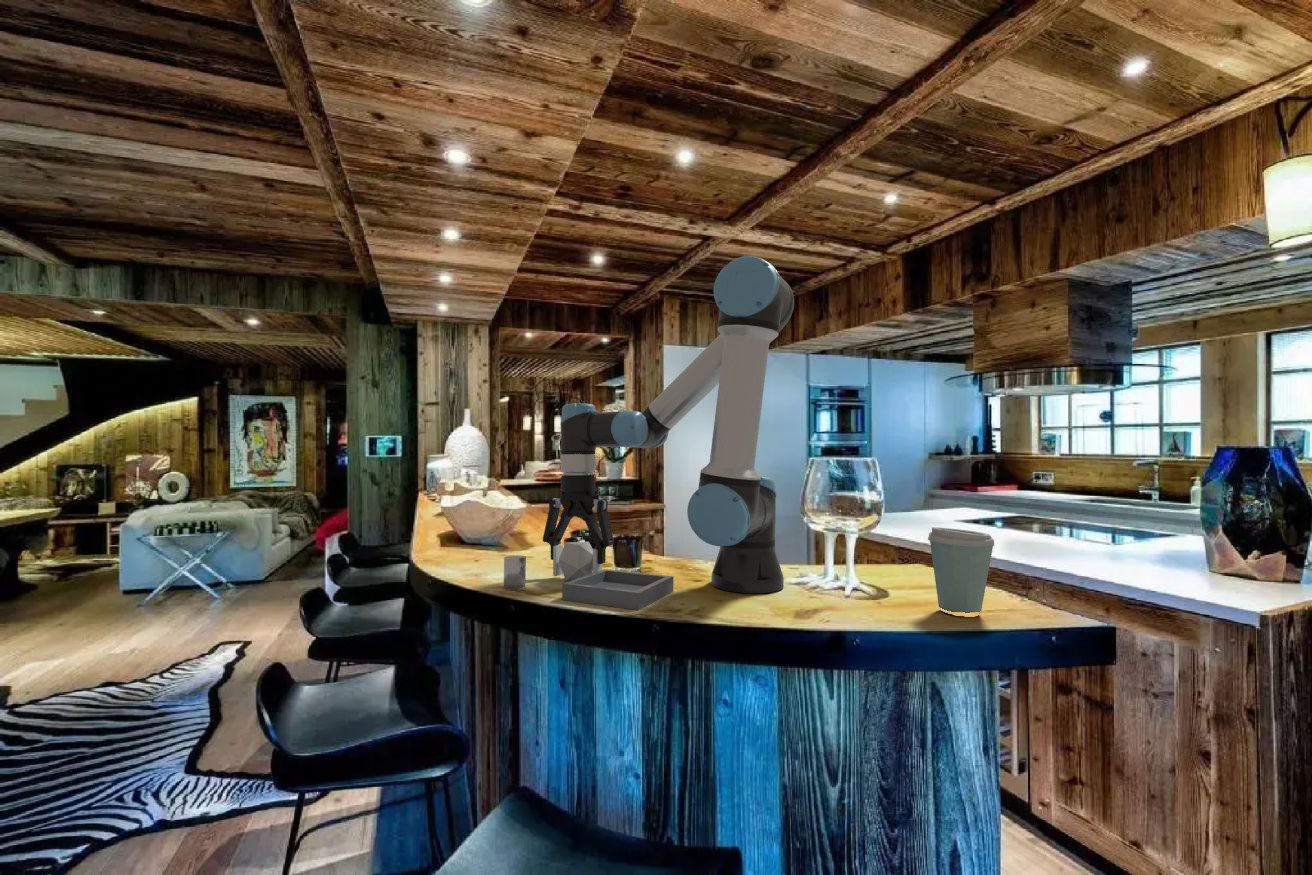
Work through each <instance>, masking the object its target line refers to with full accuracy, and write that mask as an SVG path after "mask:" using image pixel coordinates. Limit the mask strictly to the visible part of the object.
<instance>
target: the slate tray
mask: <svg viewBox="0 0 1312 875" xmlns="http://www.w3.org/2000/svg"><path fill="white" fill-rule="evenodd" d="M561 585H562V588H561V589H562V593H561V596H562V597H561V598H562V601H569V602H577V603H582V604H583V603H584V604H591V605H598V606H605V607H613V608H614V607H615V608H619V609H620V608H621V609H627V610H628V609H629V610H637V611H639V610H642V609H644V608H645V607H647V606H649V605H650V604H652V603H653V604H654V602H656V601H658V600H660V599H662V598H664V597H665V596H667V595H669V594H671V593H673V592H674V576H673V575H662V574H654V573H646V572H645V573H644V572H636V571H635V572H633V571H625V570H617V569H615V570H614V569H606V568H602V570H601V571H598V572H595V573H593V572H592V574H589V575H586V576H583V577H580V578H578V579H575V580H568V581H567V582H564V583H562V584H561Z"/></svg>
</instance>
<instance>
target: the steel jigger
mask: <svg viewBox="0 0 1312 875" xmlns="http://www.w3.org/2000/svg"><path fill="white" fill-rule="evenodd" d="M526 573H527V556H525V555H507V556H504V557H503V588H504V589H507V590H517V589H519V590H520V589H524V588H526V583H527V582H526V576H527V574H526Z"/></svg>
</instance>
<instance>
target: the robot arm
mask: <svg viewBox="0 0 1312 875" xmlns="http://www.w3.org/2000/svg"><path fill="white" fill-rule="evenodd" d="M713 296H714V301H715V304H716V307H718V309H719V311H718V312H719V314H718V320H717V322H718V323H717V332H718V333H719V335H717V337H716V338H714V340H713V341H711V343H710V344H708V345H707V347H705V349H704V350H703V351H702V352H701V353H700V354H699V355H698V356H696V358H695V359H693V361H692V362H690V363H689V364H688V365H687V367H686V368H685V369H684V370H683V371H681V373H680V374H679V375H678V376H676V377H675V379H673V381H671V383H670V384H668V386H667V387H665V389H664V390H663V391H662V392H661V393H660V394H658V396H656V398H655V399H654V400H652V402H651V403H650V404H649V405H648V406H647V407H646V408H644V409H643V411H638V410H620V411H606V412H597V409H596V406H595V405H594V404H592V403H585V402H584V403H582V402H581V403H576V402H573V403H567V404H564V405H563V406H562V408H561V419H560V420H561V421H560V435H561V436H560V438H561V439H560V440H561V453H560V473H563V474H562V475H561V476H560V491H561V496H560V498H558V497H556V498H555V497H554V498H549V499H548V513H547V517H546V523H545V525H544V526H545V528H544V532H543V536H542V542H544V543H547V544H549V545H550V557H549V558H550V560H551V561H553V562H552V576H553V577H557V576H561V575H563V573H562V571H561V568H560V566H559V564H558V562H559V558H560V555H561V553H562V550H563V548H564V545H563V544H562V542H561V541H562V539H563V537H564V536H565V533H566V530H567V528H568V526H569V524H570V523H571V520H572V519H573V518H574V517H577V518H582V519H581V520H583V521H584V522H585V525H586V526H587V529H588V532H589V533H590V536H591V538H592V541H593V542H594V544H595V547H594V548H592V549H593V571H592V573H595V572H598V571H601V570H603V564H606V560H607V557H606V549H607V548H609V547H611V546H612V545H614V544H615V541H614V536H613V532H612V526H611V522H610V518H609V517H610V516H609V513H608V505H609V502H608V501H609V500H607V499H598V498H597V497H596V496H595V491H596V476H595V475H594V473H595V472H596V448H601V447H604V448H605V447H606V448H607V447H609V448H611V447H613V448H639V449H640V448H641V449H655V448H658V447H661V446H663V445H664V444H665V442H666V441H667V440H668V437H669V432H670V431H671V429H672V428H674V426H676V425H677V424H679V422H680V421H681V420H682V419H683V418H684V417H685V416H686V415H687V414H689V412H691V411H692V410H693V409H694V407H696V406H697V405H698V404H699V403H700V402H701V401H702V400H703V399H704V398H705V397H706V396H707V395H708V394H710V393H711V392H712V390H714V389H715V388H716V387H717V386H718V390H717V399H716V405H715V407H716V408H715V415H714V421H713V422H714V423H713V432H712V439H711V448H710V454H709V455H710V456H709V462H708V464H707V465H706V466H705V465H704V467H703V468H701V470H700V474H699V480H698V481H699V482H698V488H697V489H696V490H695V492H693V494H692V495H691V497H690V499H689V500H688V504H687V509H686V510H687V512H686V514H687V520H688V523H689V526H690V528H691V530H692V531H693V532H694V534H695V535H696V536H697V537H698V538H699V539H700V540H701V541H702V542H704V543H706V544H708V545H710V546H711V545H712V546H714V547H715V546H716V547H719V550H718V553H717V557H716V559H715V562H714V565H713V569H712V572H711V585H712V587H714V588H716V589H719V590H723V591H726V592H727V591H728V592H732V593H743V594H766V593H767V594H768V593H775V592H778V591H781V590H782V589H784V587H785V586H784V585H785V584H784V579H785V578H784V574H783V571H782V568H781V565H780V562H779V558H778V555H777V551H776V516H777V515H776V513H777V512H776V510H777V509H776V506H777V504H776V498H777V490H776V483H775V481H774V480H773V479H772V478H770V477H765V476H760V474H759V473H758V472H757V471H756V468H755V464H756V456H757V448H758V440H759V431H760V425H761V423H760V422H761V414H762V406H763V397H764V391H765V390H764V389H765V382H766V374H767V365H768V364H767V363H768V358H769V350H770V349H769V348H770V344H771V342H773V341H774V340H775V339H776V338H778V337H779V333H780V332H781V331H782V330H783V329H784V327H785V326H786V325H787V324H788V322H789V321H790V319H791V317H792V314H793V312H794V308H795V297H794V292H793V290H792V288H791V286H790V285H789V284H788V282H787V281H786V280H785V279H783V277H782V276H781V275H780V274H779V273H778V271H777V269H776V268H775V267H774V266H773V265H772V263H770V262H768V261H766V260H765V259H763V258H762V257H758V256H754V255H744V256H740V257H737V258H734V259H733V260H731V261H729V263H727V264H726V265H725V266H724V267H722V269H721V270H720V271H719V273H718V275H717V276H716V278H715V281H714V285H713ZM596 498H597V499H596ZM561 506H562V508H563V509H562V512H561V514H560V509H561ZM594 507H595V509H596V514H597V518H596V515H595V512H594V510H593V509H594ZM559 514H560V516H559ZM559 517H560V519H559ZM558 519H559V521H558ZM597 520H598V521H597ZM598 523H599V524H598Z"/></svg>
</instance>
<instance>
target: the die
mask: <svg viewBox="0 0 1312 875" xmlns="http://www.w3.org/2000/svg"><path fill="white" fill-rule="evenodd" d="M564 543H565V544H564V545H563V550H562V553H561V555H560V558H559V562H558V564H559V566H560V568H561V571H562V573H563V574H562V575H563V576H564V579H565V581H572V580H575V579H578V578H580V577H583V576H586V575H589V574H592V573H593V549H594V548H593V546H591V545H592V544H590V542H589V541H576V542H575V541H573V542H572V541H571V542H564Z"/></svg>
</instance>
